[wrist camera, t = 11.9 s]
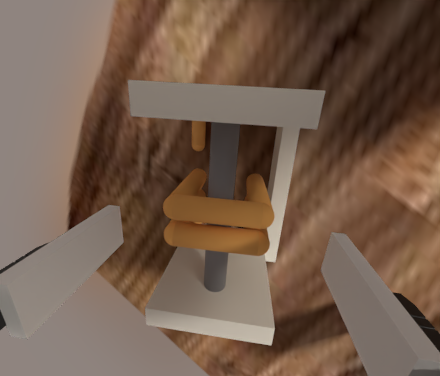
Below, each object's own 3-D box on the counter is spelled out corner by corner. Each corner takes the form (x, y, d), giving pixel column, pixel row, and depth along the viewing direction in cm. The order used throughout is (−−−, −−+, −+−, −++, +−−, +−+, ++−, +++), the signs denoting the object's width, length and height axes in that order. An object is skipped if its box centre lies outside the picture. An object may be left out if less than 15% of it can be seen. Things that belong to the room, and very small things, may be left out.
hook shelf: (192, 100, 24) (127, 79, 11) (294, 106, 23) (360, 92, 10) (190, 233, 30) (146, 324, 17) (271, 243, 29) (292, 349, 16)
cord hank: (189, 202, 23) (160, 249, 15) (190, 167, 22) (158, 198, 14) (259, 209, 23) (269, 263, 14) (264, 174, 21) (278, 210, 13)
